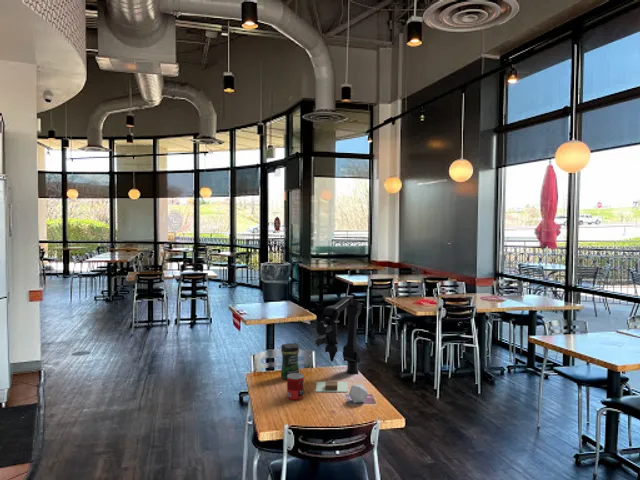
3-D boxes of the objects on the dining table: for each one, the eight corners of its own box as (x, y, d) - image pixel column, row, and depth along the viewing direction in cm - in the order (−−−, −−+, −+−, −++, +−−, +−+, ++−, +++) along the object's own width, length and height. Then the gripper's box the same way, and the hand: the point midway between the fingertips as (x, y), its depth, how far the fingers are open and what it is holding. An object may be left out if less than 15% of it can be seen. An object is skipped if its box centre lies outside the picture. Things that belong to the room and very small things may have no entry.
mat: (316, 382, 247) (316, 381, 247) (347, 382, 246) (347, 381, 246) (315, 392, 233) (315, 391, 233) (347, 392, 232) (347, 391, 232)
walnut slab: (325, 381, 240) (325, 385, 234) (337, 381, 240) (337, 385, 234) (325, 386, 240) (325, 390, 234) (337, 386, 240) (337, 390, 234)
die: (364, 407, 214) (373, 388, 218) (347, 398, 214) (356, 379, 218) (359, 407, 222) (368, 388, 226) (343, 398, 222) (352, 380, 226)
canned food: (301, 401, 221) (301, 378, 221) (285, 400, 223) (285, 377, 222) (305, 395, 229) (305, 373, 228) (289, 394, 230) (289, 372, 230)
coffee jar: (284, 380, 250) (283, 346, 250) (279, 376, 258) (279, 342, 257) (301, 378, 254) (300, 344, 254) (296, 374, 261) (295, 341, 261)
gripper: (317, 327, 254) (317, 356, 254) (314, 335, 235) (315, 366, 235) (337, 327, 253) (337, 356, 253) (337, 335, 234) (337, 366, 235)
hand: (331, 361), depth 244 cm, fingers closed
